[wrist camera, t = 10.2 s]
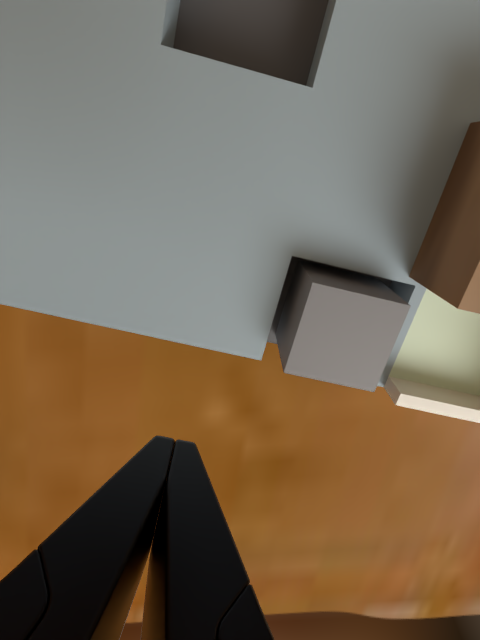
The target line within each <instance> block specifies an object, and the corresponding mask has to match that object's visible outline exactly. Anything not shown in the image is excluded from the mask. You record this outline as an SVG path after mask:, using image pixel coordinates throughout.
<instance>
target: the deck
mask: <svg viewBox="0 0 480 640" xmlns="http://www.w3.org/2000/svg"><path fill="white" fill-rule="evenodd" d="M478 121H480V0H0V304H3V305H8V306H12V307H17V308H21V309H26V310H31V311H35V312H40V313H44V314H49V315H54V316H58V317H63V318H67V319H72V320H77V321H81V322H86V323H91V324H95V325H100V326H104V327H109V328H114V329H118V330H123V331H127V332H132V333H137V334H141V335H146V336H151V337H155V338H160V339H164V340H169V341H174V342H178V343H183V344H187V345H192V346H197V347H201V348H206V349H211V350H215V351H220V352H224V353H229V354H234V355H238V356H243V357H247V358H252V359H257V360H261V359H262V356H263V352H264V349H265V346H266V342H271V343H275V344H277V339H276V335H275V334H276V331H277V327H278V324H279V321H280V317H281V314H282V311H283V307H284V304H285V301H286V297H287V294H288V291H289V287H290V284H291V281H292V278H293V274H294V271H295V268H296V264H297V261H298V259H299V260H304V261H308V262H312V263H316V264H320V265H324V266H328V267H332V268H337V269H341V270H345V271H349V272H353V273H357V274H361V275H365V276H370V277H374V278H377V279H379V280H380V281H381V282H382V283H384V284H385V285H386V286H387V287H388V288H390V289H391V290H392V291H393V292H395V293H396V294H397V295H398V296H399V297H401V298H402V299H403V300H404V301H406V302H407V303H408V304H409V305H411V307H410V309H409V311H408V314H407V316H406V319H405V321H404V323H403V326H402V328H401V330H400V333H399V335H398V337H397V340H396V342H395V344H394V347H393V349H392V351H391V354H390V356H389V359H388V361H387V363H386V366H385V368H384V370H383V373H382V375H381V377H380V380H379V382H378V384H377V386H381V387H384V388H385V390H386V391H387V393H388V394H389V396H390V397H391V399H392V400H393V402H394V403H395V405H398V406H402V407H407V408H412V409H417V410H421V411H426V412H431V413H435V414H440V415H445V416H449V417H454V418H459V419H463V420H468V421H473V422H478V423H480V314H478V313H474V312H470V311H465V310H461V309H457V308H456V307H454V306H453V305H451V304H450V303H448V302H447V301H445V300H443V299H442V298H440V297H439V296H437V295H436V294H434V293H433V292H431V291H430V290H428V289H427V288H425V287H424V286H422V285H421V284H419V283H418V282H416V281H414V280H413V279H411V278H410V277H409V275H410V272H411V270H412V267H413V265H414V262H415V260H416V257H417V255H418V252H419V250H420V247H421V245H422V242H423V240H424V237H425V235H426V232H427V230H428V227H429V225H430V222H431V220H432V217H433V215H434V212H435V210H436V207H437V205H438V202H439V200H440V197H441V195H442V192H443V190H444V187H445V185H446V182H447V180H448V177H449V175H450V172H451V170H452V167H453V165H454V162H455V160H456V157H457V155H458V152H459V150H460V147H461V145H462V142H463V140H464V137H465V135H466V132H467V130H468V127H469V125H470V123H473V122H478Z"/></svg>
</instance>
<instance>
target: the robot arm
mask: <svg viewBox="0 0 480 640" xmlns="http://www.w3.org/2000/svg"><path fill="white" fill-rule="evenodd" d="M174 444H175V445H174ZM173 448H174V449H173ZM171 457H172V458H171ZM170 461H171V462H170ZM168 470H169V471H168ZM163 492H164V493H163ZM161 501H162V502H161ZM160 505H161V506H160ZM159 510H160V511H159ZM158 514H159V515H158ZM157 519H158V520H157ZM156 523H157V524H156ZM155 527H156V528H155ZM154 532H155V533H154ZM153 536H154V537H153ZM152 540H153V542H152ZM151 544H152V547H151ZM150 548H151V552H150ZM149 552H150V559H149V567H148V576H147V585H146V594H145V603H144V613H143V622H142V631H141V640H274V637H273V635H272V633H271V630H270V628H269V626H268V623H267V621H266V619H265V616H264V614H263V612H262V609H261V607H260V605H259V602H258V599H257V597H256V594H255V592H254V589H253V587H252V585H249V584H250V580H249V577H248V575H247V572H246V570H245V567H244V565H243V562H242V560H241V557H240V555H239V552H238V550H237V547H236V545H235V542H234V540H233V537H232V534H231V532H230V529H229V527H228V524H227V522H226V519H225V517H224V514H223V512H222V509H221V507H220V504H219V502H218V499H217V497H216V494H215V492H214V489H213V487H212V484H211V482H210V479H209V477H208V474H207V472H206V469H205V467H204V464H203V462H202V459H201V456H200V454H199V451H198V449H197V446H196V444H195V443H193V442H189V441H184V440H176V441H174V439H173V438H168V437H163V436H155V437H154V438H153V439H152V440H150V441H149V442H148V443H147V444H146V445H145V446H144V447H143V448H142V449H141V450H140V451H139V452H138V453H137V454H136V455H135V456H133V457H132V458H131V459H130V460H129V461H128V462H127V463H126V464H125V465H124V466H123V467H122V468H121V469H120V470H119V471H118V472H117V473H115V474H114V475H113V476H112V477H111V478H110V479H109V480H108V481H107V482H106V483H105V484H104V485H103V486H102V487H101V488H100V489H98V490H97V491H96V492H95V493H94V494H93V495H92V496H91V497H90V498H89V499H88V500H87V501H86V502H85V503H84V504H83V505H82V506H80V507H79V508H78V509H77V510H76V511H75V512H74V513H73V514H72V515H71V516H70V517H69V518H68V519H67V520H66V521H65V522H63V523H62V524H61V525H60V526H59V527H58V528H57V529H56V530H55V531H54V532H53V533H52V534H51V535H50V536H49V537H48V538H47V539H45V540H44V541H43V542H42V543H41V544H40V545H39V546H38V550H34V551H32V552H31V553H30V554H29V555H28V556H27V557H26V558H25V559H24V560H23V561H22V562H21V563H20V564H19V565H18V566H17V567H16V568H14V569H13V570H12V571H11V572H10V573H9V574H8V575H7V576H5V577H4V578H3V579H2V580H1V581H0V640H119V639H120V636H121V633H122V630H123V627H124V624H125V622H126V619H127V616H128V613H129V610H130V607H131V605H132V602H133V599H134V596H135V593H136V590H137V587H138V585H139V582H140V579H141V576H142V573H143V570H144V568H145V565H146V561H147V558H148V555H149Z"/></svg>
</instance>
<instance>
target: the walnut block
mask: <svg viewBox="0 0 480 640" xmlns="http://www.w3.org/2000/svg"><path fill="white" fill-rule="evenodd" d="M409 277H410V278H411V279H413V280H414V281H416V282H418V283H419V284H421V285H422V286H424V287H425V288H427V289H428V290H430V291H431V292H433V293H434V294H436V295H437V296H439V297H440V298H442V299H443V300H445V301H447V302H448V303H450V304H451V305H453V306H454V307H456V308H457V309H461V310H465V311H470V312H474V313H478V314H480V121H478V122H473V123H470V125H469V127H468V130H467V132H466V135H465V137H464V140H463V142H462V145H461V147H460V150H459V152H458V155H457V157H456V160H455V162H454V165H453V167H452V170H451V172H450V175H449V177H448V180H447V182H446V185H445V187H444V190H443V192H442V195H441V197H440V200H439V202H438V205H437V207H436V210H435V212H434V215H433V217H432V220H431V222H430V225H429V227H428V230H427V232H426V235H425V237H424V240H423V242H422V245H421V247H420V250H419V252H418V255H417V257H416V260H415V262H414V265H413V267H412V270H411V272H410V275H409Z"/></svg>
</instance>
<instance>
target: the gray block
mask: <svg viewBox="0 0 480 640" xmlns="http://www.w3.org/2000/svg"><path fill="white" fill-rule="evenodd" d="M410 307H411V305H409V304H408V303H407V302H406V301H404V300H403V299H402V298H401V297H399V296H398V295H397V294H396V293H395V292H393V291H392V290H391V289H390V288H388V287H387V286H386V285H385V284H384V283H382V282H381V281H380V280H379V279H377V278H374V277H370V276H365V275H361V274H357V273H353V272H349V271H345V270H341V269H337V268H332V267H328V266H324V265H320V264H316V263H312V262H308V261H304V260H299V259H298V261H297V264H296V268H295V271H294V274H293V278H292V281H291V284H290V287H289V291H288V294H287V297H286V301H285V304H284V307H283V311H282V314H281V317H280V321H279V324H278V327H277V331H276V334H275V335H276V339H277V344H278V348H279V353H280V358H281V362H282V367H283V371H284V373H288V374H292V375H297V376H302V377H306V378H311V379H316V380H320V381H325V382H330V383H334V384H339V385H344V386H348V387H353V388H358V389H362V390H367V391H371V392H374V391H375V389H376V387H377V384H378V382H379V380H380V377H381V375H382V373H383V370H384V368H385V366H386V363H387V361H388V359H389V356H390V354H391V351H392V349H393V347H394V344H395V342H396V340H397V337H398V335H399V333H400V330H401V328H402V326H403V323H404V321H405V319H406V316H407V314H408V311H409V309H410Z"/></svg>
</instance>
